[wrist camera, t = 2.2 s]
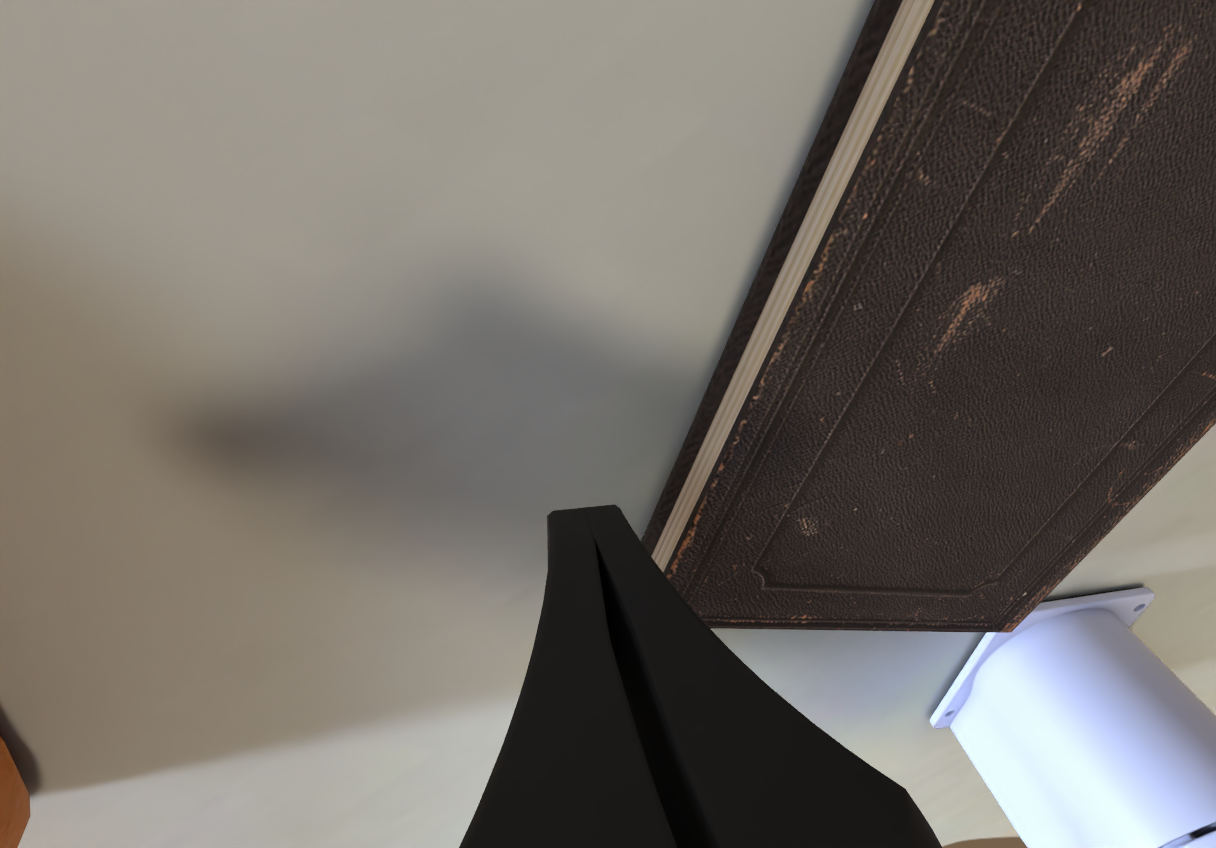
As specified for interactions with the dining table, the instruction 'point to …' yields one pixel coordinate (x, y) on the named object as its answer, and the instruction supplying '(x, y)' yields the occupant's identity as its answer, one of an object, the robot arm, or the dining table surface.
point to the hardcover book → (963, 324)
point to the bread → (12, 801)
